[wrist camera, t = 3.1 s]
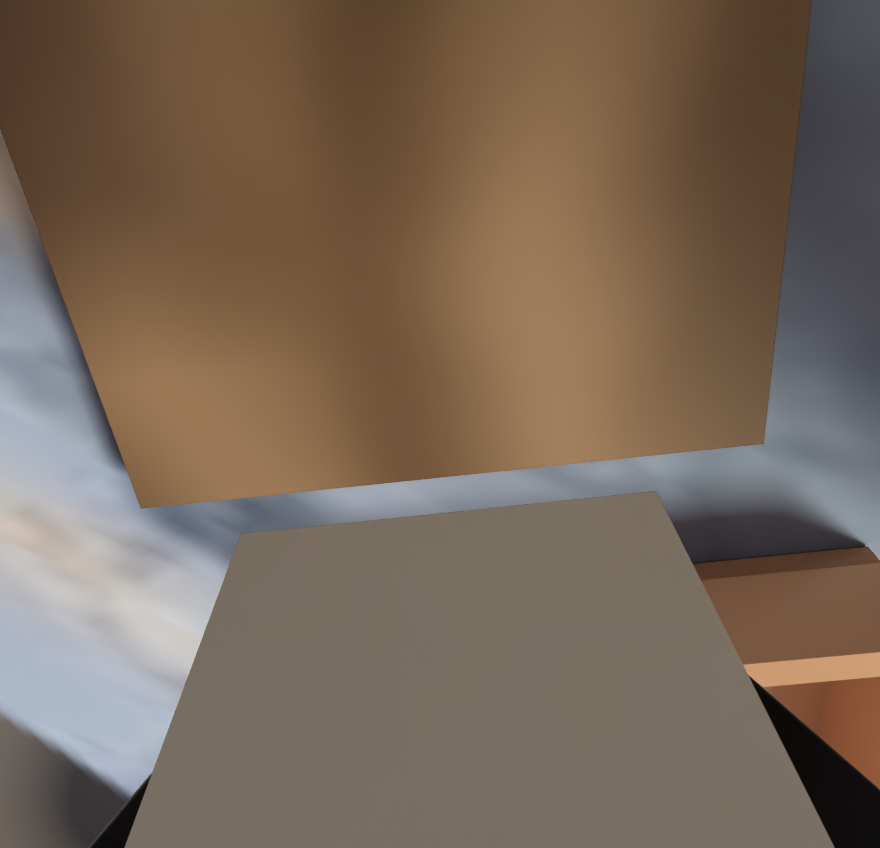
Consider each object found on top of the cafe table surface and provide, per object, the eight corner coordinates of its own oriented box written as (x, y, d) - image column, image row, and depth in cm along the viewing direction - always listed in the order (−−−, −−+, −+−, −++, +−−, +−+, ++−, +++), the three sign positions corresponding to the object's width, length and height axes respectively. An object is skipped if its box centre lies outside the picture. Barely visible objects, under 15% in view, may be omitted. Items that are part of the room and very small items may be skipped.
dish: (867, 546, 17) (952, 645, 15) (817, 797, 22) (875, 911, 19) (353, 596, 18) (338, 701, 15) (405, 832, 22) (401, 947, 20)
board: (824, -439, 10) (864, -485, 9) (744, 420, 16) (763, 443, 15) (-116, -294, 10) (-168, -326, 9) (156, 483, 16) (140, 508, 16)
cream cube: (655, 490, 7) (892, 964, 3) (648, 767, 9) (796, 1259, 5) (240, 534, 7) (58, 1026, 4) (319, 797, 9) (250, 1292, 5)
